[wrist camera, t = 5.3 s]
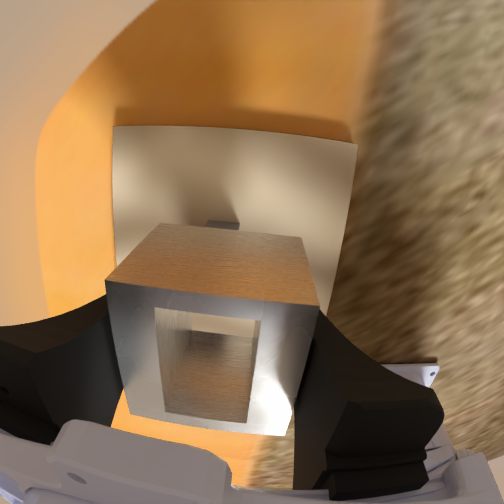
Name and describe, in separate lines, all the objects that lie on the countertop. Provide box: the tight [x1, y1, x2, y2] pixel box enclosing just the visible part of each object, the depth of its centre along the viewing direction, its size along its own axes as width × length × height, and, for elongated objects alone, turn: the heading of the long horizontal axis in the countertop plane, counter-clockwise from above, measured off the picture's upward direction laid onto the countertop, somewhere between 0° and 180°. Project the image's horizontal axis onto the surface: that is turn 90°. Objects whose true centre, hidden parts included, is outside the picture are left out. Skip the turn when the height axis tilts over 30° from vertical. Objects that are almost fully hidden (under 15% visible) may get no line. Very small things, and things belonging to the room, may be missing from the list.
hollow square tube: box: [105, 223, 320, 436], centre depth 11 cm, size 6×6×5 cm
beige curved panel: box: [112, 125, 358, 337], centre depth 18 cm, size 14×14×5 cm
